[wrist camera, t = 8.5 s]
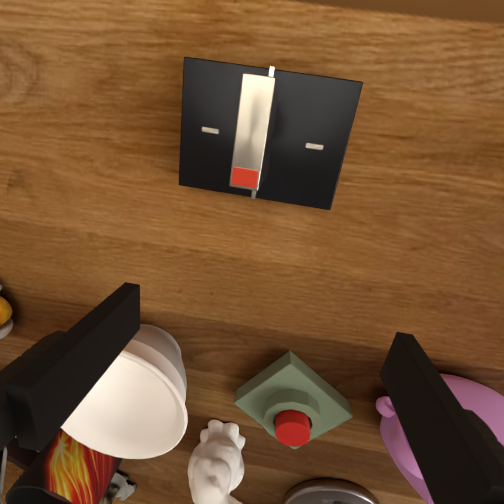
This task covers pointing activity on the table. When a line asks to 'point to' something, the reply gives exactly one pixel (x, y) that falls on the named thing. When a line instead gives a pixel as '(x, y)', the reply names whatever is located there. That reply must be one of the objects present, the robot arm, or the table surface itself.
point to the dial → (254, 131)
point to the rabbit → (216, 464)
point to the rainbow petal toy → (5, 317)
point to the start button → (292, 427)
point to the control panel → (284, 138)
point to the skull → (117, 489)
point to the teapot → (471, 398)
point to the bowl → (136, 400)
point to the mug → (60, 472)
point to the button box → (292, 396)
